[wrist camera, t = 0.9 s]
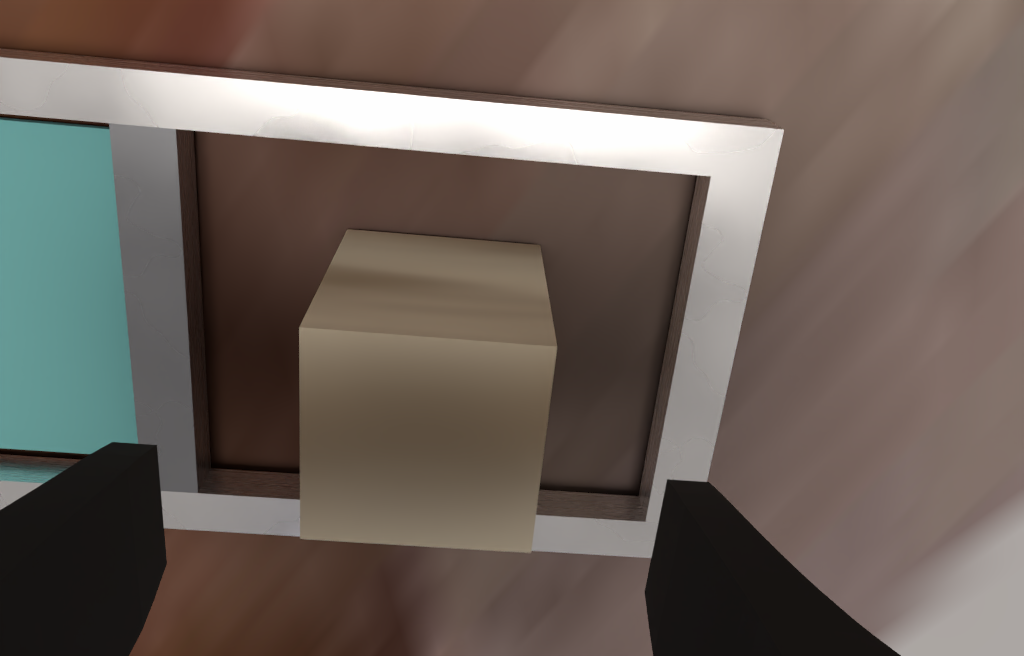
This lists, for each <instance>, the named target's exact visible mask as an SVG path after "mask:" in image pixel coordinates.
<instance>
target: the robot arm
mask: <svg viewBox="0 0 1024 656" xmlns="http://www.w3.org/2000/svg"><path fill="white" fill-rule="evenodd" d="M166 564H167V560H166V548H165V536H164V524H163V512H162V500H161V488H160V476H159V464H158V451H157V445H150V444H135V443H120V442H111V443H110V444H108V445H106V446H104V447H102V448H100V449H99V450H97V451H95V452H93V453H92V454H90V455H88V456H87V457H85V458H83V459H82V460H80V461H79V462H77V463H75V464H74V465H72V466H71V467H69V468H67V469H66V470H64V471H63V472H61V473H59V474H58V475H56V476H55V477H53V478H51V479H50V480H48V481H47V482H45V483H43V484H42V485H40V486H39V487H37V488H35V489H34V490H32V491H31V492H29V493H27V494H26V495H24V496H22V497H21V498H19V499H17V500H16V501H14V502H13V503H11V504H9V505H8V506H6V507H4V508H3V509H1V510H0V656H129V654H130V652H131V650H132V649H133V647H134V645H135V643H136V641H137V639H138V637H139V635H140V633H141V631H142V629H143V627H144V624H145V622H146V619H147V616H148V614H149V611H150V609H151V606H152V603H153V601H154V598H155V595H156V592H157V590H158V587H159V584H160V581H161V578H162V575H163V573H164V570H165V567H166ZM645 598H646V606H647V614H648V622H649V629H650V636H651V643H652V650H653V656H901V655H899V654H898V653H897V652H895V651H894V650H892V649H891V648H890V647H888V646H887V645H886V644H884V643H883V642H882V641H880V640H879V639H878V638H876V637H875V636H874V635H872V634H871V633H870V632H869V631H867V630H866V629H865V628H864V627H862V626H861V625H860V624H859V623H857V622H856V621H855V620H854V619H852V618H851V617H850V616H849V615H848V614H847V613H846V612H844V611H843V610H842V609H841V608H840V607H839V606H837V605H836V604H835V603H834V602H833V601H832V600H830V599H829V598H828V597H827V596H826V595H825V594H823V593H822V592H821V591H820V590H819V589H818V588H817V587H816V586H814V585H813V584H812V583H811V582H810V581H809V580H808V579H807V578H806V577H805V576H804V575H802V574H801V573H800V572H799V571H798V570H797V569H796V568H795V567H794V566H793V565H792V564H791V563H790V562H789V561H788V560H787V559H786V558H785V557H784V556H782V555H781V554H780V553H779V552H778V551H777V550H776V549H775V548H774V547H773V546H772V545H771V544H770V543H769V542H768V541H767V540H766V539H765V538H764V537H763V536H762V535H761V534H760V533H759V532H758V531H757V530H756V529H755V528H754V527H753V526H752V525H751V524H750V523H749V522H748V521H747V520H746V519H745V518H744V516H743V515H742V514H741V513H740V512H739V511H738V510H737V509H736V508H735V507H734V506H733V505H732V504H731V503H730V502H729V501H728V500H727V499H726V498H725V497H724V496H723V495H722V494H721V493H720V492H719V491H718V490H717V489H716V488H715V487H714V486H712V485H711V484H710V483H709V482H700V481H685V480H670V479H667V482H666V487H665V492H664V497H663V502H662V507H661V513H660V518H659V523H658V528H657V533H656V538H655V543H654V548H653V553H652V558H651V563H650V568H649V573H648V578H647V583H646V588H645Z"/></svg>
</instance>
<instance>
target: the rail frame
mask: <svg viewBox="0 0 1024 656" xmlns="http://www.w3.org/2000/svg"><path fill="white" fill-rule="evenodd" d="M0 114H11V115H22V116H33V117H45V118H56V119H67V120H79V121H90V122H101V123H109V127H103V126H92V125H81V124H69V123H58V122H47V121H35V120H24V119H13V118H1V117H0V448H5V449H21V450H36V451H51V452H66V453H81V454H92V453H93V452H95V451H97V450H99V449H100V448H102V447H104V446H106V445H108V444H110V443H111V442H120V443H135V444H150V445H157V451H158V464H159V476H160V488H161V500H162V512H163V524H164V528H169V529H186V530H202V531H218V532H235V533H251V534H267V535H284V536H300V474H292V473H277V472H262V471H246V470H231V469H216V468H211V456H210V437H209V418H208V399H207V380H206V360H205V341H204V322H203V303H202V284H201V265H200V246H199V227H198V208H197V189H196V170H195V151H194V132H193V131H203V132H214V133H226V134H237V135H248V136H259V137H271V138H282V139H293V140H305V141H316V142H327V143H338V144H350V145H361V146H372V147H384V148H395V149H406V150H418V151H429V152H440V153H451V154H463V155H474V156H485V157H497V158H508V159H519V160H531V161H542V162H553V163H564V164H576V165H587V166H598V167H610V168H621V169H632V170H643V171H655V172H666V173H677V174H689V175H697V180H696V185H695V191H694V196H693V202H692V207H691V213H690V218H689V224H688V229H687V235H686V240H685V246H684V251H683V256H682V262H681V267H680V273H679V278H678V284H677V289H676V295H675V300H674V306H673V311H672V317H671V322H670V327H669V333H668V338H667V344H666V349H665V355H664V360H663V366H662V371H661V377H660V382H659V388H658V393H657V398H656V404H655V409H654V415H653V420H652V426H651V431H650V437H649V442H648V448H647V453H646V459H645V464H644V469H643V475H642V480H641V486H640V491H639V496H627V495H612V494H597V493H581V492H566V491H551V490H539V495H538V502H537V510H536V518H535V526H534V534H533V542H532V549H531V551H544V552H561V553H577V554H593V555H610V556H626V557H642V558H652V553H653V548H654V543H655V538H656V533H657V528H658V523H659V518H660V513H661V507H662V502H663V497H664V492H665V487H666V482H667V479H670V480H685V481H700V482H707V479H708V475H709V470H710V465H711V461H712V456H713V452H714V447H715V443H716V438H717V433H718V429H719V424H720V420H721V415H722V411H723V406H724V401H725V397H726V392H727V388H728V383H729V379H730V374H731V370H732V365H733V360H734V356H735V351H736V347H737V342H738V338H739V333H740V328H741V324H742V319H743V315H744V310H745V306H746V301H747V296H748V292H749V287H750V283H751V278H752V274H753V269H754V265H755V260H756V255H757V251H758V246H759V242H760V237H761V233H762V228H763V223H764V219H765V214H766V210H767V205H768V201H769V196H770V192H771V187H772V182H773V178H774V173H775V169H776V164H777V160H778V155H779V150H780V146H781V141H782V137H783V132H784V129H783V128H781V127H779V126H778V125H776V124H775V123H773V122H772V121H770V120H768V119H758V118H747V117H736V116H725V115H715V114H704V113H693V112H682V111H671V110H661V109H650V108H639V107H628V106H618V105H607V104H596V103H585V102H575V101H564V100H553V99H542V98H532V97H521V96H510V95H499V94H489V93H478V92H467V91H456V90H445V89H435V88H424V87H413V86H402V85H392V84H381V83H370V82H359V81H349V80H338V79H327V78H316V77H306V76H295V75H284V74H273V73H263V72H252V71H241V70H230V69H219V68H209V67H198V66H187V65H176V64H166V63H155V62H144V61H133V60H123V59H112V58H101V57H90V56H80V55H69V54H58V53H47V52H36V51H26V50H15V49H4V48H0ZM79 461H80V460H79V459H63V458H48V457H33V456H18V455H3V454H0V510H1V509H3V508H4V507H6V506H8V505H9V504H11V503H13V502H14V501H16V500H17V499H19V498H21V497H22V496H24V495H26V494H27V493H29V492H31V491H32V490H34V489H35V488H37V487H39V486H40V485H42V484H43V483H45V482H47V481H48V480H50V479H51V478H53V477H55V476H56V475H58V474H59V473H61V472H63V471H64V470H66V469H67V468H69V467H71V466H72V465H74V464H75V463H77V462H79Z"/></svg>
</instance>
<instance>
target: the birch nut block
mask: <svg viewBox="0 0 1024 656" xmlns="http://www.w3.org/2000/svg"><path fill="white" fill-rule="evenodd" d="M556 354H557V342H556V336H555V330H554V324H553V318H552V312H551V306H550V300H549V295H548V289H547V283H546V277H545V271H544V265H543V259H542V253H541V247H540V245H534V244H522V243H510V242H497V241H485V240H473V239H461V238H449V237H437V236H425V235H413V234H401V233H388V232H376V231H364V230H352V229H347V231H346V233H345V235H344V237H343V239H342V241H341V243H340V245H339V247H338V249H337V251H336V253H335V255H334V257H333V259H332V261H331V263H330V265H329V268H328V270H327V272H326V274H325V276H324V278H323V280H322V282H321V284H320V286H319V288H318V290H317V292H316V294H315V296H314V298H313V300H312V302H311V304H310V306H309V308H308V310H307V312H306V314H305V316H304V318H303V320H302V323H301V325H300V327H299V403H300V539H308V540H325V541H341V542H357V543H374V544H390V545H407V546H423V547H440V548H456V549H472V550H489V551H505V552H522V553H531V549H532V542H533V534H534V526H535V518H536V510H537V502H538V495H539V487H540V479H541V471H542V463H543V455H544V448H545V440H546V432H547V424H548V416H549V408H550V401H551V393H552V385H553V377H554V369H555V361H556Z"/></svg>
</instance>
